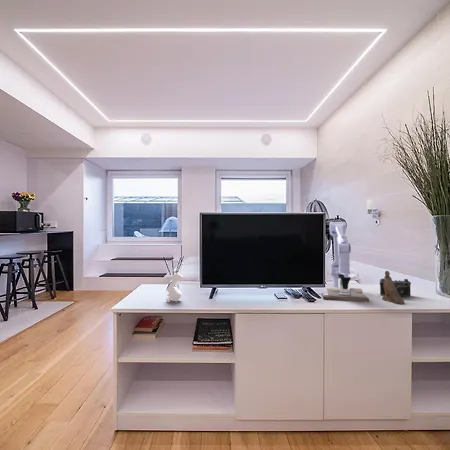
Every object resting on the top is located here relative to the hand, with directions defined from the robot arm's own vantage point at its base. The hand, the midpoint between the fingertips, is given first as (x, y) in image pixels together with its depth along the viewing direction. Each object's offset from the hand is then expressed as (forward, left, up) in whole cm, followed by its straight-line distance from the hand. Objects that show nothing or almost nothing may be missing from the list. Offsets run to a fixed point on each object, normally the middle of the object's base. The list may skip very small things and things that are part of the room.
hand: (344, 287), depth 171 cm
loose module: (0, 0, -2) cm, 2 cm away
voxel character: (+24, -94, -6) cm, 97 cm away
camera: (-10, +31, -6) cm, 33 cm away
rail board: (0, 0, -6) cm, 6 cm away
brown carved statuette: (+2, +25, -6) cm, 26 cm away
